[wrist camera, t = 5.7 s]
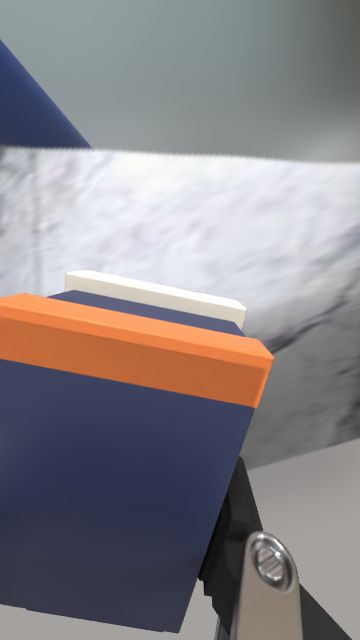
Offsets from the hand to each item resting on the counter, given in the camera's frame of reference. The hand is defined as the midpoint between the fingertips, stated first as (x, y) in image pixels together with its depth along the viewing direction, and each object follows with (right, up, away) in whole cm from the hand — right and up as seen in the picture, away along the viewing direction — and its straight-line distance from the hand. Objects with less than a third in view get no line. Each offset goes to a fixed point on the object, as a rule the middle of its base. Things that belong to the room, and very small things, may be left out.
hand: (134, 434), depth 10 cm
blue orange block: (0, 0, +1) cm, 1 cm away
